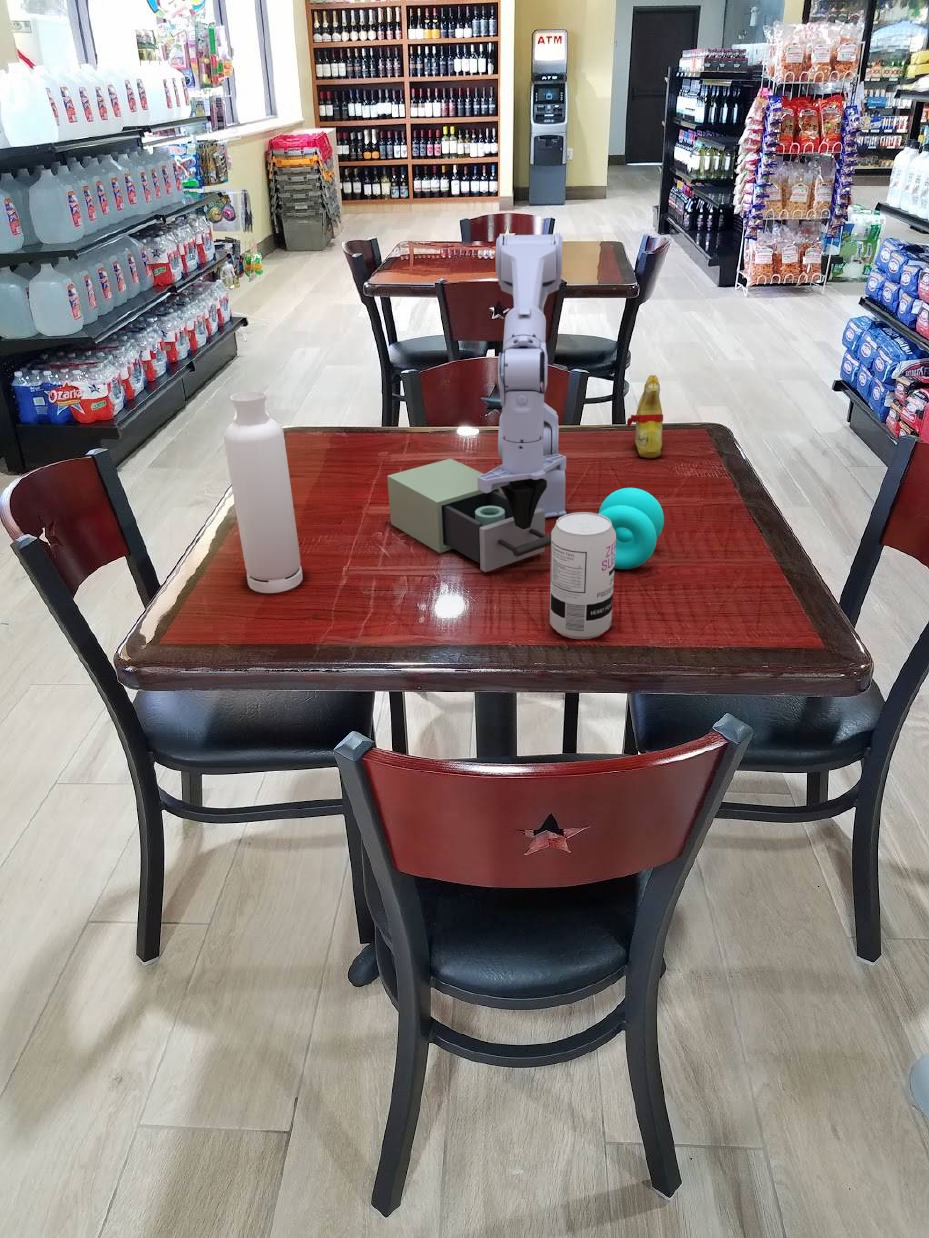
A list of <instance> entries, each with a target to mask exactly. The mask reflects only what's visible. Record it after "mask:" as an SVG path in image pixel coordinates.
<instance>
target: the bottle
mask: <svg viewBox="0 0 929 1238" xmlns="http://www.w3.org/2000/svg"><path fill="white" fill-rule="evenodd" d="M229 398H230V399H229V400H230V403H231V404H232V405H233V406H234V408H235V409H234V415H233V421H232V422H231V423H230V424H228V426H227V427H226V428H225V430H224V434H223V442H224V447H225V454H226V458H227V465H228V471H229V478H230V483H231V484H230V485H231V490H232V496H233V502H234V507H235V513H236V520H237V526H238V532H239V538H240V545H241V549H242V550H241V551H242V556H243V563H244V569H245V571H246V580H247V585H248V587H249V589H251V590H253V591H254V592H257V593H263V594H278V593H282V592H286V591H289V590H293V589H294V588H296V587H298V585H300V584H301V583H302V581H303V569H302V565H301V554H300V545H299V538H298V532H297V524H296V517H295V507H294V502H293V501H294V500H293V493H292V486H291V477H290V471H289V463H288V462H289V461H288V455H287V449H286V441H285V440H286V439H285V433H284V429H283V426H282V425H281V424H280V423H279V422H278V421H277V420H275V419H273V418H271V417H270V415H269V413H268V412H267V411H266V407H265V405H266V400H267V393H266V392H265V391H261V390H245V391H240V392H239V391H238V392H235V393H233V394H231V395H230V397H229Z"/></svg>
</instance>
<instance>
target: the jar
mask: <svg viewBox="0 0 929 1238" xmlns="http://www.w3.org/2000/svg"><path fill="white" fill-rule="evenodd" d="M475 520H477V521H479V522H480V523H482V527H483V526H486V525H489V524H492V523H495V522H499V521H502V520H505V510H504V509H503V508H501V507H497V506H483V507H480V508H478V509H477V510H476V511H475Z"/></svg>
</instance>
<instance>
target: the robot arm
mask: <svg viewBox="0 0 929 1238" xmlns="http://www.w3.org/2000/svg"><path fill="white" fill-rule="evenodd" d="M563 240H564V239H563V236H562V235H561V234H560V233H559V232H557V233H555V234H554V233H553V234H508V235H504V234H503V233H501V234H499V236H498V237H497V238H496V242H495V243H496V244H495V272H496V273H495V274H496V277H497V280H498V281H497V282H498V285H499V286H500V290H501V291H502V292H503V293H506V294H509V295H511V296H512V298H513V308H511V309H510V310H508V311H507V313H506V315H505V318H504V329H503V343H502V352H499V353H498V356H497V357H498V359H497V383H498V389H499V397H500V398H499V399H500V400H499V402H500V406H501V407H502V408H501V412H500V413H501V414H500V415H499V419H498V424H499V425H498V431H497V432H498V434H497V435H498V436H497V451H498V458H499V459H500V460H501V461H502V464H500V465H498V466H496V467H495V468H493V469H492V470H490V471H488V472H486V473H483V474H484V475H481V476H478V477H477V478H478V490H480V491H482V492H484V493H489V492H491V491H492V489H495V488H498V487H500V488H501V489H502V491H503V495H505V496H506V498H507V500H508V503H509V505H510V508H511V511H512V514H513V518H514V522H515V526H517V527H519V528H521V529H527V528H530V527H531V523H532V519H533V516H534V512H535V510H536V509H539V508H541V509H543V510H545V519H549V518H555V517H562V516H564V515H566V514H567V511H566V480H567V479H566V470H567V456H565V455H563V454H560V453H559V435H560V434H559V433H560V432H559V431H560V429H559V428H560V425H559V415H558V413H557V411H556V410H555V409H553V408H552V407H551V406H549V404H547V403H546V402H545V393H546V390H547V387H548V369H549V368H548V367H549V366H548V365H549V364H548V363H549V360H548V351H547V343H546V336H547V335H546V334H547V333H546V331H547V319H546V315H545V314H544V307H545V305H546V301H547V300H548V299H547V298H548V296H549V295H551V294H552V293H554V292H556V291H559V289H560V285H561V284H562V275H563Z"/></svg>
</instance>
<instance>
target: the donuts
mask: <svg viewBox="0 0 929 1238" xmlns="http://www.w3.org/2000/svg"><path fill="white" fill-rule="evenodd" d="M598 514H600V515H603V516H605V517H607V518H608V519H609V520H610V521H611V523H612V526H613V528H614V530H615V532H616V549H615V567H614V569H616V570H632V569H635V568H639V567H640V566H643V565H644V564H645V563H646V562H647V561H648V560H650V558H651V557H652V556H653V554H654V552H655V549H656V547H657V541H658V538H659V537H660V535H661V534H662V532H663V528H664V524H665V514H664V511H663V508H662V505H661V504H660V503H659V501H658V500H657V498H656V497H654V496H653V495H652V494H651V493H649V491H646V490H643V489H641V488H636V487H624V488H620V489H617V490H615V491H613V492H611V493H610V494H609V495H608V496H606V497H605V499H604V500H603V501H602V503H601V505H600V507H599V511H598Z"/></svg>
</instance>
